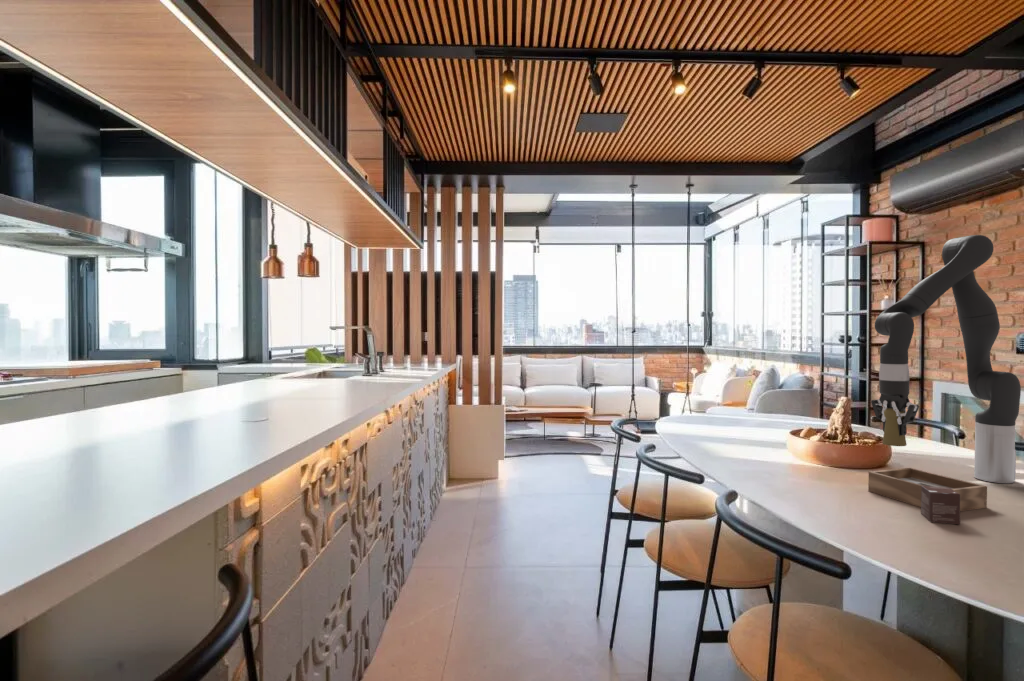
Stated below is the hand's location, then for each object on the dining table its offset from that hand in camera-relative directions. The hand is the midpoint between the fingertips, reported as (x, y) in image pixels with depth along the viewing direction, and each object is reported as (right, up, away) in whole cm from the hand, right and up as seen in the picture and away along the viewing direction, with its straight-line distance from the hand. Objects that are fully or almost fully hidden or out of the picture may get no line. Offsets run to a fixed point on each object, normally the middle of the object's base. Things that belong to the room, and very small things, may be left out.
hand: (894, 435), depth 167 cm
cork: (0, -3, 0) cm, 3 cm away
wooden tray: (-4, -14, -18) cm, 23 cm away
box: (-13, -15, -34) cm, 39 cm away
